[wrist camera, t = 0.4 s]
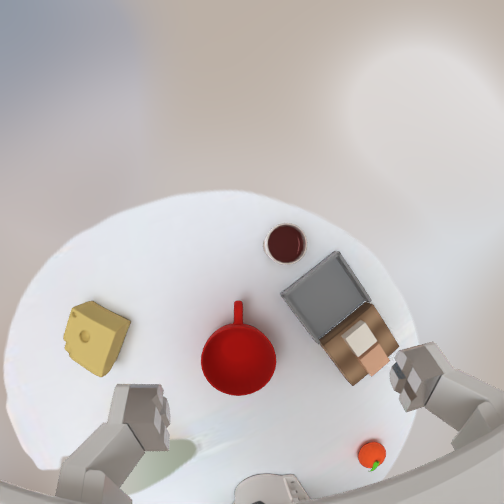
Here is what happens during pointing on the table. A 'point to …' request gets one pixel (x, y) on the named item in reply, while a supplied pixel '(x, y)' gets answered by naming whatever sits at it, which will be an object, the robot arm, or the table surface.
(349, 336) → the tile
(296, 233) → the wineglass
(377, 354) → the tile
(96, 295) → the table surface
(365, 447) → the clementine
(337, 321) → the tray
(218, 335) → the ceramic cup
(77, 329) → the cheese
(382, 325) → the walnut block
